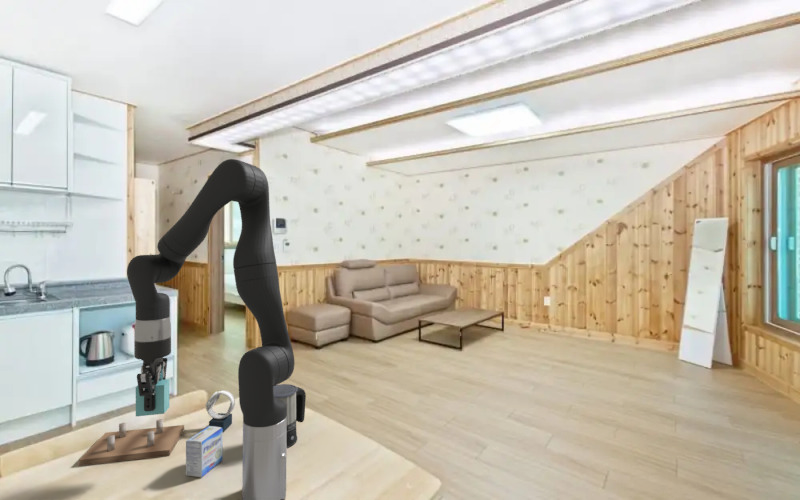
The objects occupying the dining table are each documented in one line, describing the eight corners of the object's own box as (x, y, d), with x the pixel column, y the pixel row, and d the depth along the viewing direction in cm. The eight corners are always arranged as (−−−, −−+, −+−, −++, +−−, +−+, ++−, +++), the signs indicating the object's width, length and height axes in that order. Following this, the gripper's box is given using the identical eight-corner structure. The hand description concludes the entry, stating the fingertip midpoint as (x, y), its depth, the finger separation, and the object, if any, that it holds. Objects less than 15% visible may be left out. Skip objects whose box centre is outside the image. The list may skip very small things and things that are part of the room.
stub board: (184, 429, 114) (184, 413, 114) (169, 455, 101) (169, 436, 100) (105, 437, 109) (105, 420, 109) (78, 465, 95) (78, 446, 95)
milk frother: (288, 452, 103) (288, 397, 103) (234, 446, 106) (234, 392, 105) (309, 427, 117) (309, 379, 117) (261, 422, 120) (261, 375, 119)
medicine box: (201, 478, 91) (201, 442, 91) (185, 476, 92) (185, 440, 92) (223, 460, 99) (223, 426, 99) (207, 457, 100) (208, 425, 100)
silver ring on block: (211, 423, 119) (212, 387, 118) (237, 423, 118) (237, 388, 118) (202, 432, 113) (202, 394, 113) (229, 432, 113) (229, 395, 113)
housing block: (169, 406, 97) (169, 379, 96) (164, 413, 93) (164, 384, 93) (142, 409, 95) (142, 381, 95) (135, 416, 91) (135, 387, 91)
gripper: (160, 343, 88) (160, 417, 88) (178, 329, 101) (178, 394, 102) (122, 345, 86) (123, 421, 86) (146, 330, 99) (146, 396, 100)
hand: (153, 406), depth 94 cm, fingers closed on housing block, 4 cm apart
